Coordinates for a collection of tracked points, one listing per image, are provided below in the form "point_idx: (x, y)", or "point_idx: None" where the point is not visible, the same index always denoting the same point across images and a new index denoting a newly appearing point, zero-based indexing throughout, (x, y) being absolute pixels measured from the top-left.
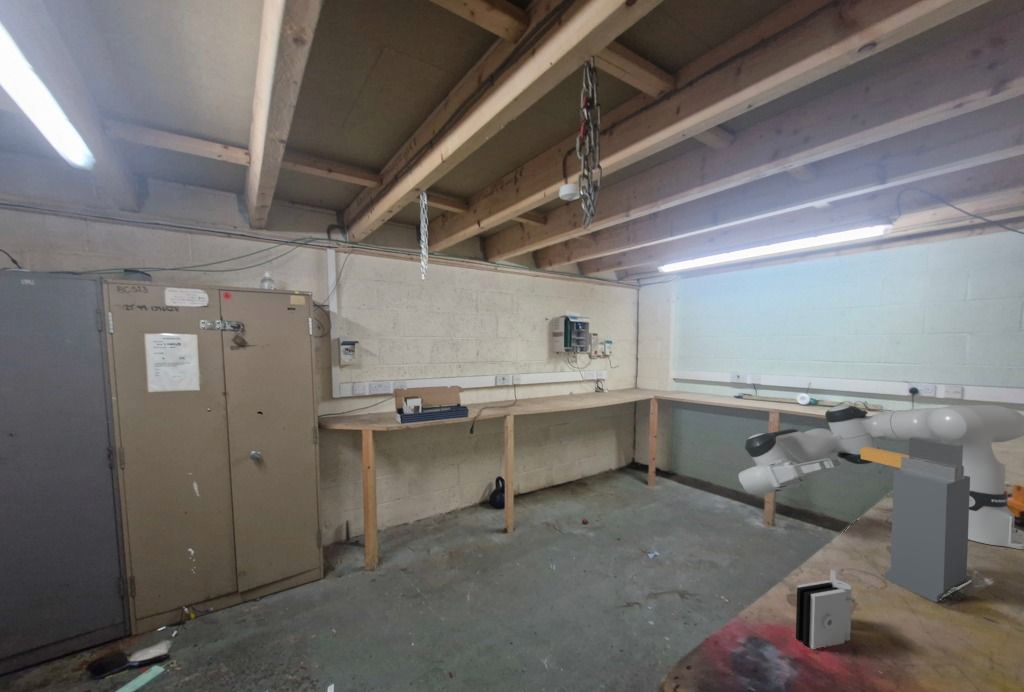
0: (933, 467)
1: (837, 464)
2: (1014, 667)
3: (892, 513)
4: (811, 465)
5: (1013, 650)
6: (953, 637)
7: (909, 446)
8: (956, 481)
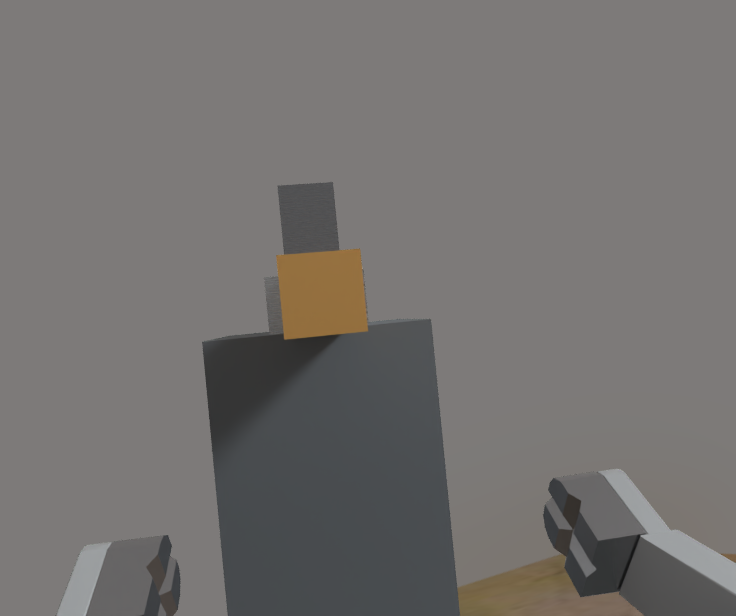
0: None
1: (170, 603)
2: (536, 562)
3: (449, 513)
4: (684, 545)
5: (486, 579)
6: (576, 603)
7: (335, 221)
8: None
